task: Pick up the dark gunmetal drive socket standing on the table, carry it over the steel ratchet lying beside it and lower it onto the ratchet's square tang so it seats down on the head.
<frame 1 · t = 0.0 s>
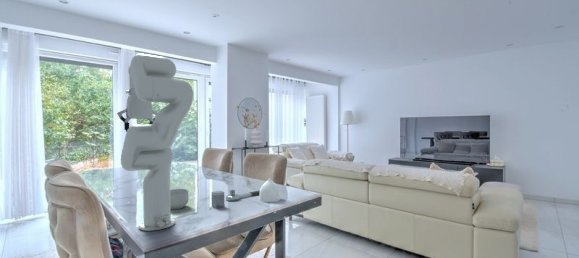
hand: (139, 131, 126), 37 cm above the table, tool pointing down, fingers open, 9 cm apart
socket: (218, 206, 134), on the table
ratchet: (232, 199, 148), on the table
teacup: (173, 207, 134), on the table
teardrop: (269, 199, 147), on the table
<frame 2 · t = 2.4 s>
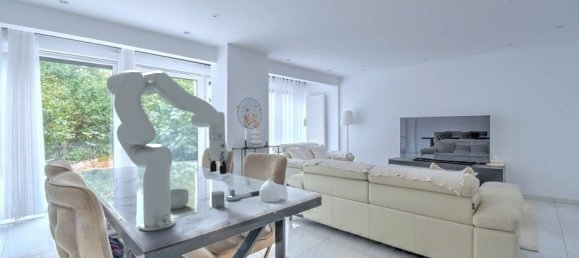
hand: (218, 172, 135), 16 cm above the table, tool pointing down, fingers open, 9 cm apart
nothing on the table moved.
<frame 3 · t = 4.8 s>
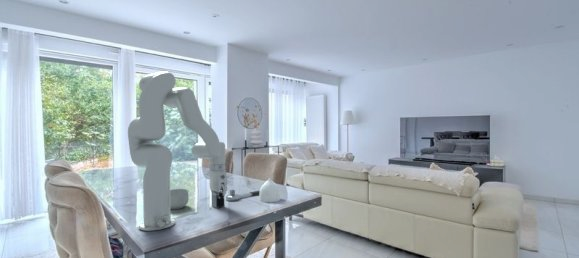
hand: (218, 205, 134), 1 cm above the table, tool pointing down, fingers closed on socket, 4 cm apart
socket: (218, 206, 134), on the table, touching gripper
everything else where it was.
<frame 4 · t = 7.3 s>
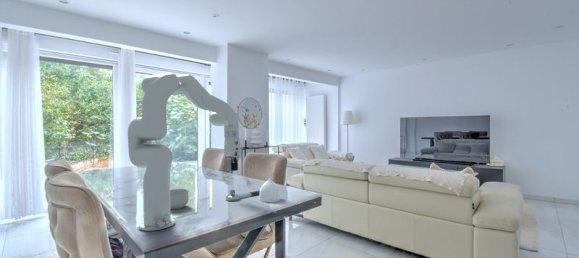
hand: (232, 169, 148), 16 cm above the table, tool pointing down, fingers closed on socket, 4 cm apart
socket: (232, 170, 148), point 15 cm above the table, touching gripper
everything else where it was.
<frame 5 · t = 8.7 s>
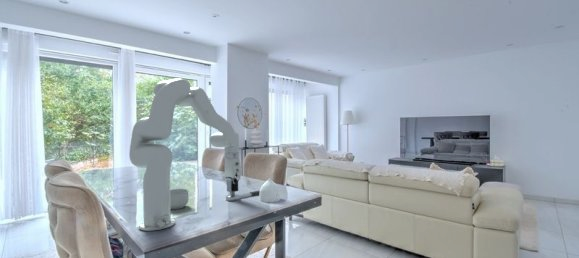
hand: (232, 189, 148), 5 cm above the table, tool pointing down, fingers closed on socket, 4 cm apart
socket: (232, 191, 148), point 4 cm above the table, touching gripper
everything else where it was.
when the fingers open (4 cm above the table, at t = 9.9 s): socket drops 1 cm, resting on ratchet.
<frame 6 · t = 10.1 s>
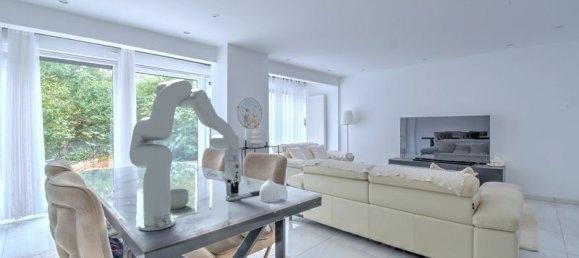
hand: (232, 191, 148), 4 cm above the table, tool pointing down, fingers open, 6 cm apart
socket: (232, 195, 148), point 2 cm above the table, touching ratchet
ratchet: (232, 199, 148), on the table, touching socket
everything else where it was.
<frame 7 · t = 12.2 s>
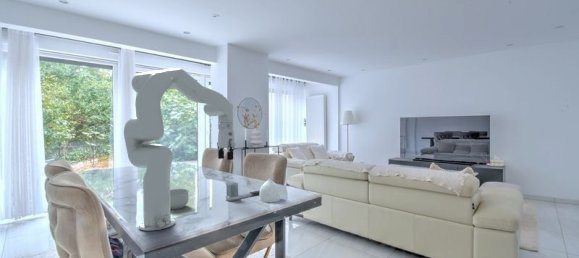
hand: (225, 159, 146), 22 cm above the table, tool pointing down, fingers open, 9 cm apart
nothing on the table moved.
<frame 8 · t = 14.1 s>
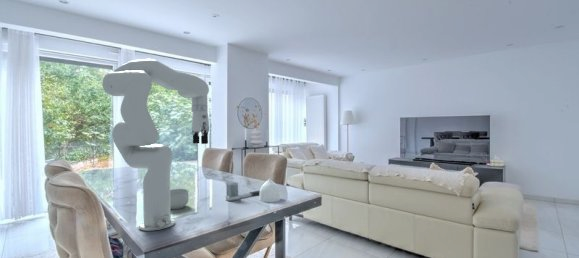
hand: (200, 143, 139), 30 cm above the table, tool pointing down, fingers open, 9 cm apart
nothing on the table moved.
at the end: socket 0.0 cm off-centre on the ratchet, point 2.0 cm above the ratchet's base; socket tilted 0°; the gripper is holding nothing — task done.
